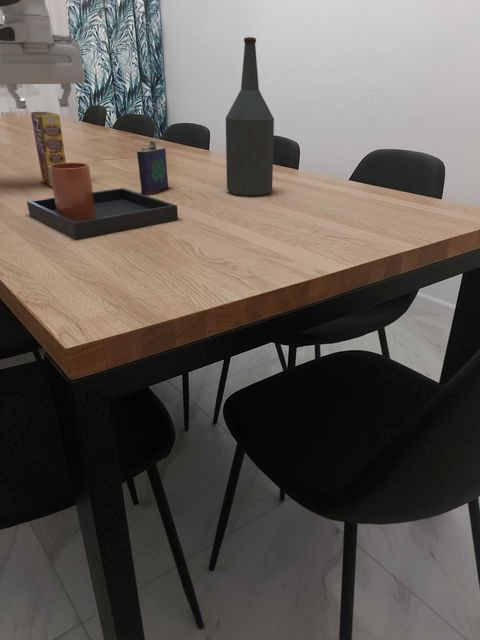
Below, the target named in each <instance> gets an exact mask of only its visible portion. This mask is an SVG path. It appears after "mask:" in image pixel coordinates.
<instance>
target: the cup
mask: <svg viewBox="0 0 480 640" xmlns="http://www.w3.org/2000/svg"><path fill="white" fill-rule="evenodd" d="M49 171H50V176H51V182H52V187H51V188H52V193H53V198H55V204H56V209H57V213H58V214H60V215H62V216H65V217H67V218H69V219H71V220H73V221H75V222H78V221H84V220H90V219H95V218H96V211H95V204H94V197H93V192H94V190H93V185H92V178H91V177H92V175H91V169H90V165H89V163H86V162H85V163H84V162H66V163H58V164H53V165H50V166H49Z"/></svg>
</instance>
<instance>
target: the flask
mask: <svg viewBox="0 0 480 640" xmlns="http://www.w3.org/2000/svg"><path fill="white" fill-rule="evenodd" d="M147 142H149V144H148V145H147V146H146V147H141V148H140V149H138V150H137V151H136V157H137V165H138V172H139V173H138V174H139V182H140V190H141V191H140V192H141V193H140V194H143V195H146V196H150V195H154V194H158V193H161V192H163V191H166V190H169V177H168V176H169V175H168V167H167V153H166V147H165V146H157V145H156V143H158V141H156V140H154V139H152V140H148V141H147Z"/></svg>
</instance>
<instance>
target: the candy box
mask: <svg viewBox="0 0 480 640" xmlns="http://www.w3.org/2000/svg"><path fill="white" fill-rule="evenodd" d="M30 116H31V123H32V127H33V128H32V129H33V135H34V140H35V146H36V151H37V158H38V163H39V169H40V174H41V180H42V182H43V183H44V184H46V185H47V186H49V187H51V188H53V187H52V182H51V176H50V171H49V166H50V165H53V164H58V163H67V161H66V160H67V159H66V153H65V148H64V147H65V146H64V140H63V133H62V132H63V131H62V124H61V119H60V114H58V113H53V112H49V111H32V112H30Z"/></svg>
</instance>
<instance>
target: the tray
mask: <svg viewBox="0 0 480 640" xmlns="http://www.w3.org/2000/svg"><path fill="white" fill-rule="evenodd" d="M93 197H94V204H95V211H96V218H95V219H90V220H84V221H78V222H75V221H73V220H71V219H69V218H67V217H65V216H62V215H60V214H58V213H57V209H56V204H55V198H54V197H48V198H42V199H41V198H40V199H35V200H28V201H26V204H27V209H28V214H29V216H30V217H32V218H33V219H36V220H38V221H39V222H42V223H43V224H45V225H47V226H49V227H51V228H53V229H55V230H57V231H59V232H62V233H63V234H65V235H66V236H69V237H71V238H73V239H75V240H82V239H85V238H91V237H96V236H101V235H107V234H111V233H116V232H121V231H125V230H126V231H127V230H132V229H138V228H141V227H142V228H143V227H147V226H152V225H158V224H163V223H167V222H172V221H178V220H179V214H178V213H179V212H178V205H176V204H175V203H174V204H173V203H171V202H167V201H164V200H162V199H159V198H155V197H152V196H150V195H143V194H142V193H140V192H136V191H133V190H130V189H127V188H125V187H120V188H113V189H107V190H99V191H93Z"/></svg>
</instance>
